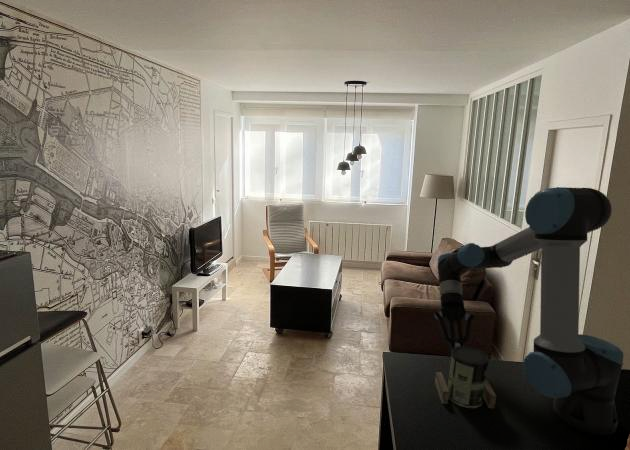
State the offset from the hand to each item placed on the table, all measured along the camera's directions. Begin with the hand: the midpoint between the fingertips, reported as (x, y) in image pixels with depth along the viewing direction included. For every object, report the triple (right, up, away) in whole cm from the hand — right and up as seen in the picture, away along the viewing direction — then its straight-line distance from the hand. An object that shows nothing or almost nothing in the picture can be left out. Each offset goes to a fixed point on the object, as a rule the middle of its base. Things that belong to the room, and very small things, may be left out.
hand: (458, 364), depth 128 cm
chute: (-1, -7, -7) cm, 10 cm away
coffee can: (-1, -7, -8) cm, 11 cm away
